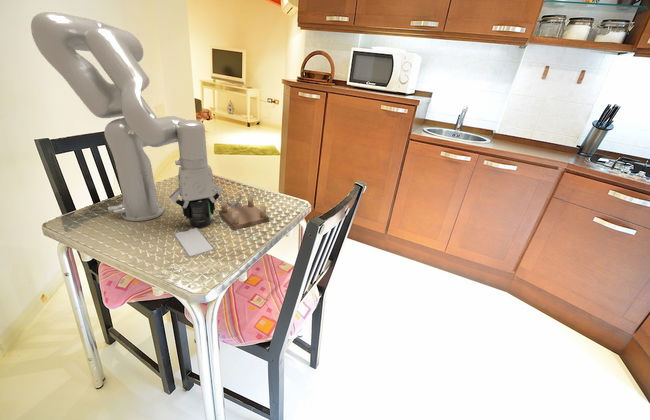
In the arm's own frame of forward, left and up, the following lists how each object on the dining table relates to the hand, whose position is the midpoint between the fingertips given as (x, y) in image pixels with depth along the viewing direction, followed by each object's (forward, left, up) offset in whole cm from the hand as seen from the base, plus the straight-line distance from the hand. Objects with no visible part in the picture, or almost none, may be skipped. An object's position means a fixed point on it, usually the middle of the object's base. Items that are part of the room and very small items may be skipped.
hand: (199, 214), depth 96 cm
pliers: (+17, +11, -4) cm, 21 cm away
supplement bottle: (0, 0, -4) cm, 4 cm away
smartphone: (-5, -10, -4) cm, 12 cm away
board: (+14, -3, -3) cm, 15 cm away
